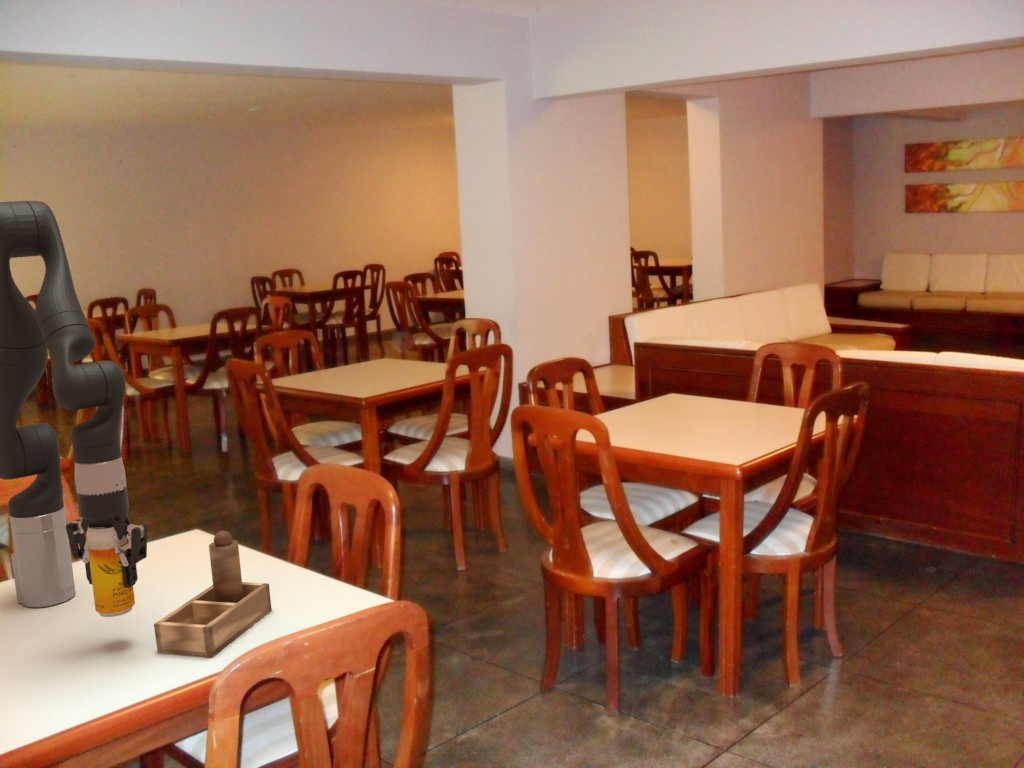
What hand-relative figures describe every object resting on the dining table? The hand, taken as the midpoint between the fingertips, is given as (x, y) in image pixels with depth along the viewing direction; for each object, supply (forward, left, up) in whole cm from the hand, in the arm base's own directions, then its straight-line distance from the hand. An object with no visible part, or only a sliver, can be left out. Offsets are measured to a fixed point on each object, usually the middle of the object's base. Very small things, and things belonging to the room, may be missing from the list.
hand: (112, 583), depth 163 cm
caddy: (+13, +8, -11) cm, 19 cm away
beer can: (0, 0, -5) cm, 5 cm away
